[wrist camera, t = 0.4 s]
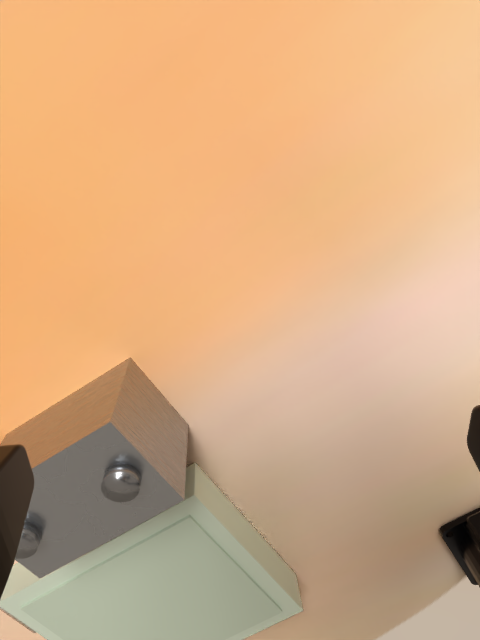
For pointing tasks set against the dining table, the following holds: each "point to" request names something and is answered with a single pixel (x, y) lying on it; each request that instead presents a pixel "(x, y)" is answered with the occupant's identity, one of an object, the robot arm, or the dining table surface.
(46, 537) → the block
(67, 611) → the pale green flat slab
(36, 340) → the dining table surface
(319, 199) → the dining table surface
